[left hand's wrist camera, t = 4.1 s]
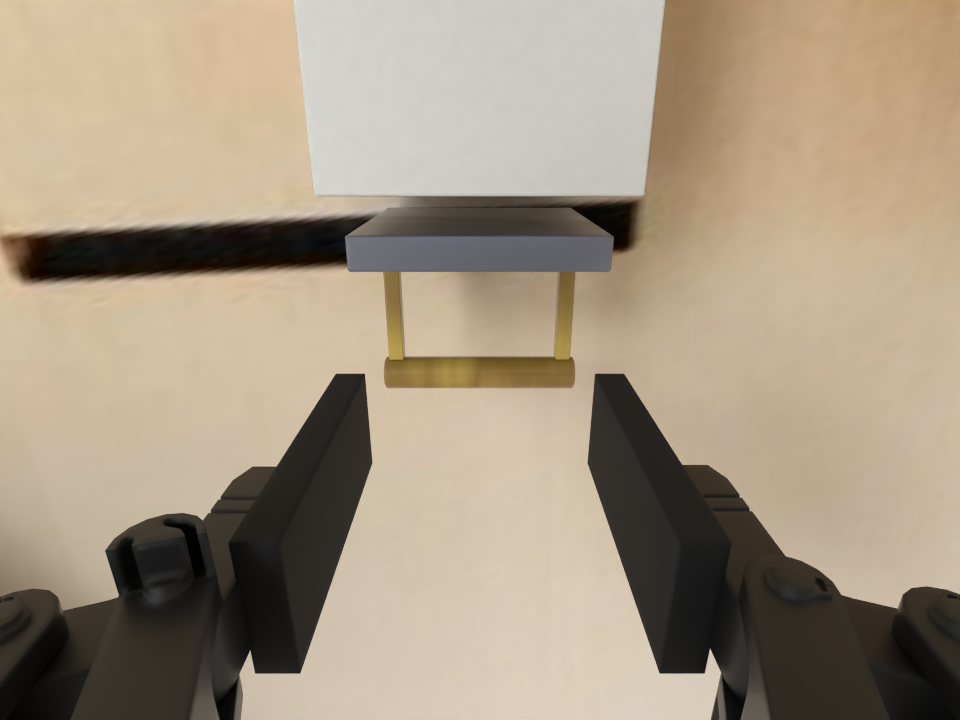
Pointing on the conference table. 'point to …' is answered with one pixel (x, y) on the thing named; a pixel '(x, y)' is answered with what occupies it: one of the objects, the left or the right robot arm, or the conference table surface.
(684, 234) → the conference table surface
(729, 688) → the left robot arm
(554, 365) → the drawer
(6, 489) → the conference table surface
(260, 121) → the conference table surface
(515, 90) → the cabinet
